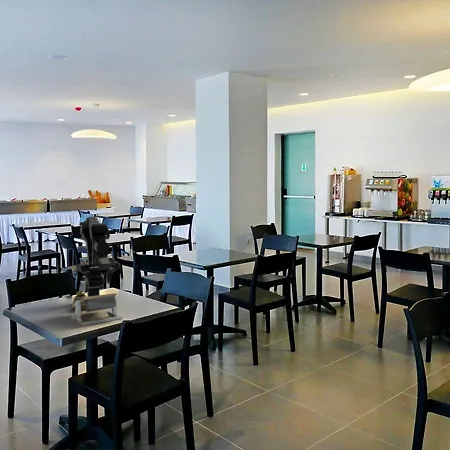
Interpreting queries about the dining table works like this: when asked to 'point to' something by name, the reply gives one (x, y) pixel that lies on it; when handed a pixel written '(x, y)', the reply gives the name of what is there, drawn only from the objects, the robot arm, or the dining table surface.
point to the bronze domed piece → (78, 297)
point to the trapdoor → (98, 302)
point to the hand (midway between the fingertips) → (98, 284)
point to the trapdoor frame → (78, 319)
